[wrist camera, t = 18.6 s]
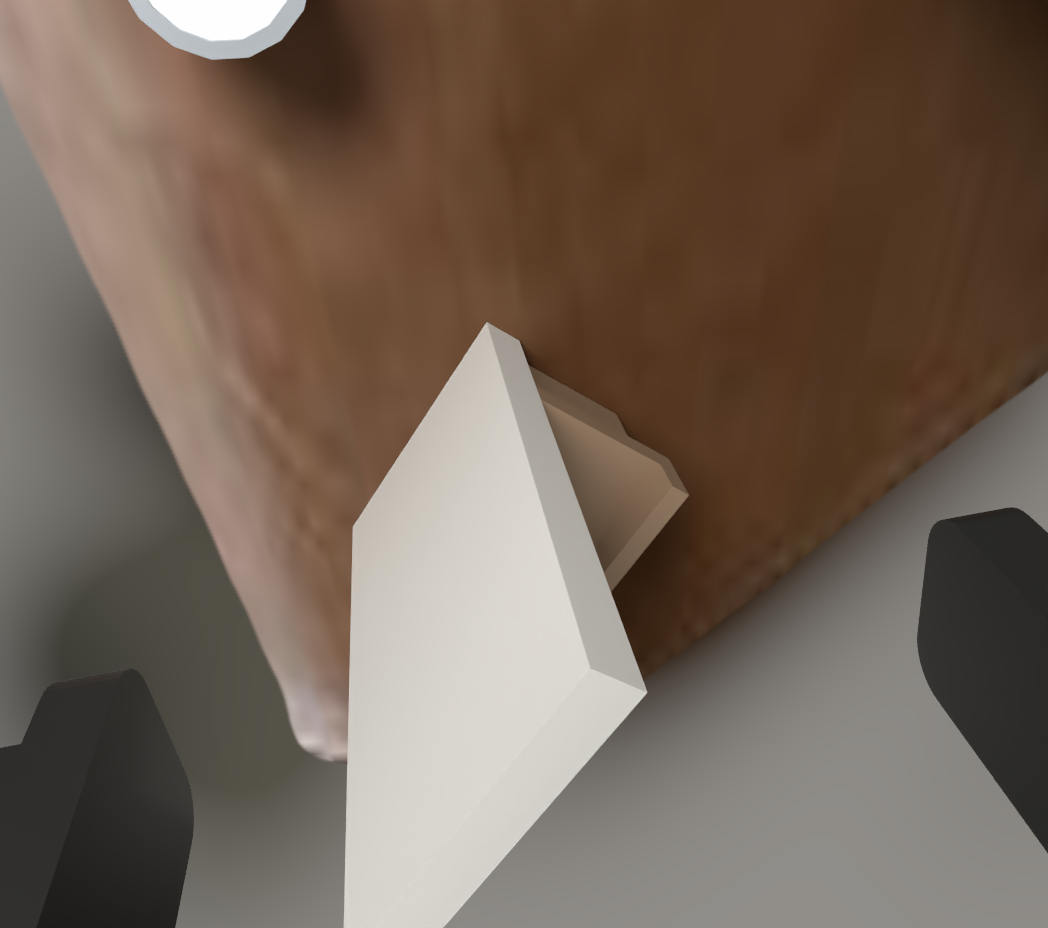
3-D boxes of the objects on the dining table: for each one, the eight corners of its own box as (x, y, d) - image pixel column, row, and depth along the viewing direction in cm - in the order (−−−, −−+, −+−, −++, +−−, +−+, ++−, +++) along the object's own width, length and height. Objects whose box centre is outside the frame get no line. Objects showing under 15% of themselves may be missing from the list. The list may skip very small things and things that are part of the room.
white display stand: (641, 409, 52) (847, 777, 30) (503, 593, 57) (591, 1028, 34) (486, 322, 48) (590, 668, 26) (352, 526, 53) (343, 967, 31)
